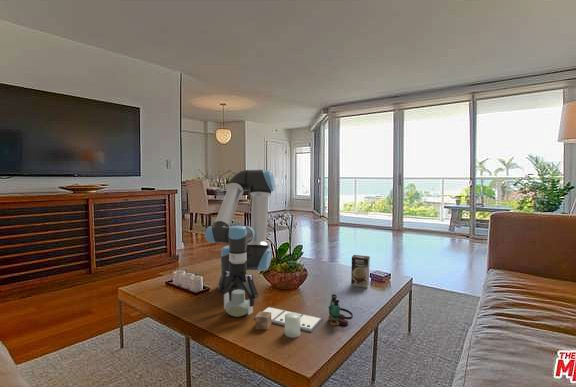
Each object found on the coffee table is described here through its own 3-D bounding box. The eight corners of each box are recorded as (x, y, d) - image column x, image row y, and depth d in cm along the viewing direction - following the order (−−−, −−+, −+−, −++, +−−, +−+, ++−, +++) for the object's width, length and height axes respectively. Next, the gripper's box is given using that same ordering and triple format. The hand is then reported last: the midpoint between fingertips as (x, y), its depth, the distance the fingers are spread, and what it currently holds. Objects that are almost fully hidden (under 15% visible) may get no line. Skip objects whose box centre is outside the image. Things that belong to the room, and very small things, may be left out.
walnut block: (255, 328, 127) (255, 316, 127) (259, 323, 132) (259, 311, 132) (267, 330, 126) (267, 317, 126) (271, 324, 131) (271, 312, 131)
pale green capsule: (281, 335, 122) (281, 317, 121) (289, 328, 127) (289, 311, 127) (296, 339, 119) (296, 320, 119) (302, 332, 124) (303, 314, 124)
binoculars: (356, 302, 128) (332, 300, 128) (353, 328, 129) (329, 326, 128) (350, 294, 137) (327, 292, 137) (347, 318, 138) (324, 316, 137)
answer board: (254, 318, 136) (254, 316, 136) (268, 308, 146) (268, 305, 146) (311, 332, 124) (311, 329, 124) (322, 320, 134) (322, 317, 134)
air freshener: (251, 309, 145) (251, 288, 144) (250, 317, 137) (249, 294, 136) (227, 310, 145) (227, 288, 144) (224, 318, 136) (224, 295, 136)
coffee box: (350, 286, 176) (351, 257, 175) (353, 282, 182) (353, 254, 181) (367, 288, 173) (368, 258, 172) (369, 284, 179) (369, 255, 178)
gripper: (210, 260, 142) (210, 308, 143) (256, 267, 131) (257, 319, 132) (221, 256, 148) (221, 302, 149) (266, 263, 137) (266, 312, 138)
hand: (238, 310), depth 141 cm, fingers open, 12 cm apart
